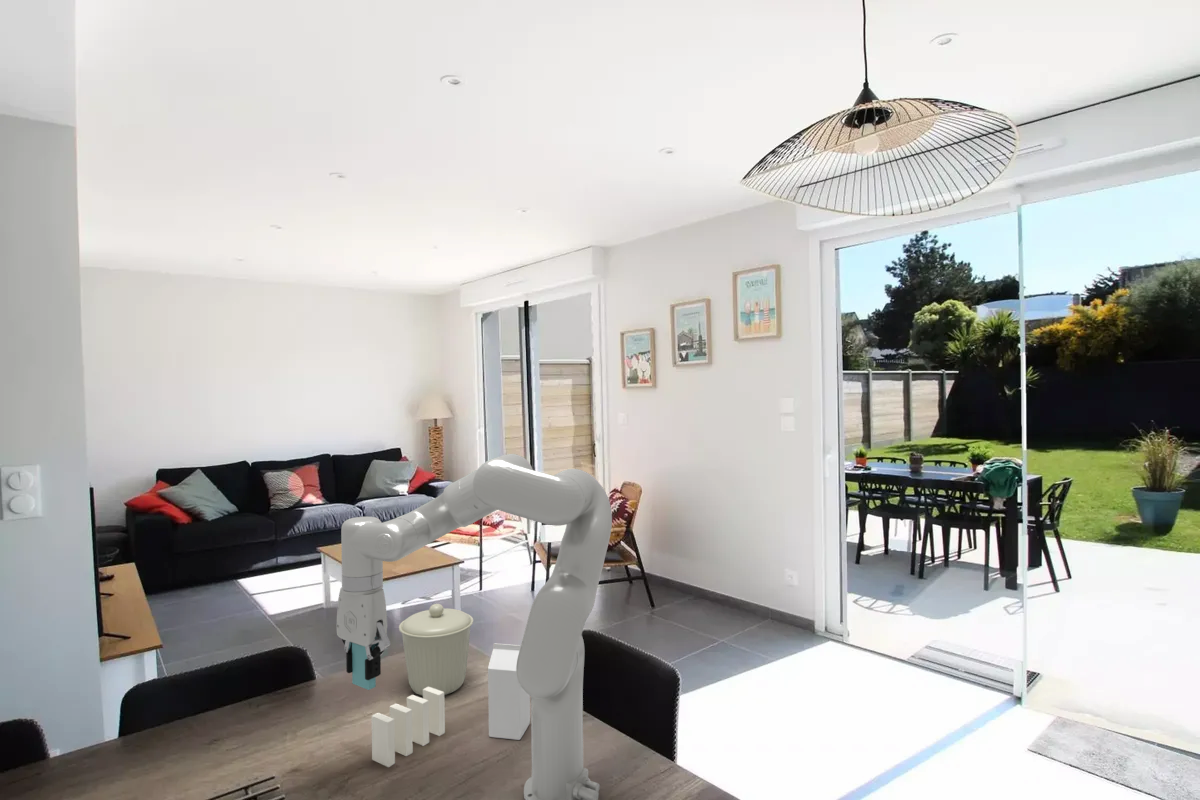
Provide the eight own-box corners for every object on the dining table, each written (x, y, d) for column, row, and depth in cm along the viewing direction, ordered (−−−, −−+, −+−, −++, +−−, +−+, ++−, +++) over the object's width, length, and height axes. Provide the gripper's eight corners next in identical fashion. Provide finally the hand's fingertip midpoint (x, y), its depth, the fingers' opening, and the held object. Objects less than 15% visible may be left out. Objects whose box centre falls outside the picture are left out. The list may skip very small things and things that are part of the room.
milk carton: (520, 740, 138) (519, 652, 137) (488, 737, 139) (487, 650, 139) (530, 723, 145) (529, 639, 144) (500, 720, 146) (499, 637, 146)
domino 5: (445, 732, 141) (444, 692, 141) (439, 736, 140) (438, 695, 140) (429, 726, 144) (428, 686, 144) (423, 729, 143) (422, 689, 142)
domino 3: (412, 752, 134) (411, 709, 134) (406, 756, 132) (405, 712, 132) (396, 745, 136) (395, 703, 136) (390, 749, 135) (389, 706, 135)
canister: (489, 681, 166) (487, 600, 165) (436, 712, 150) (435, 622, 150) (438, 666, 175) (437, 589, 175) (384, 693, 160) (382, 608, 159)
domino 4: (429, 742, 138) (428, 700, 137) (423, 746, 136) (422, 703, 136) (413, 735, 140) (412, 694, 140) (407, 739, 139) (406, 697, 139)
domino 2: (395, 763, 130) (394, 719, 130) (388, 767, 129) (387, 722, 128) (378, 755, 133) (378, 712, 133) (372, 759, 131) (371, 715, 131)
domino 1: (375, 686, 126) (375, 640, 126) (368, 690, 125) (368, 643, 124) (359, 680, 129) (358, 635, 128) (352, 683, 127) (351, 638, 127)
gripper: (318, 579, 128) (319, 670, 128) (374, 594, 118) (375, 692, 119) (351, 570, 134) (352, 657, 134) (407, 583, 125) (408, 677, 125)
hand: (363, 672), depth 127 cm, fingers closed on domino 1, 4 cm apart
